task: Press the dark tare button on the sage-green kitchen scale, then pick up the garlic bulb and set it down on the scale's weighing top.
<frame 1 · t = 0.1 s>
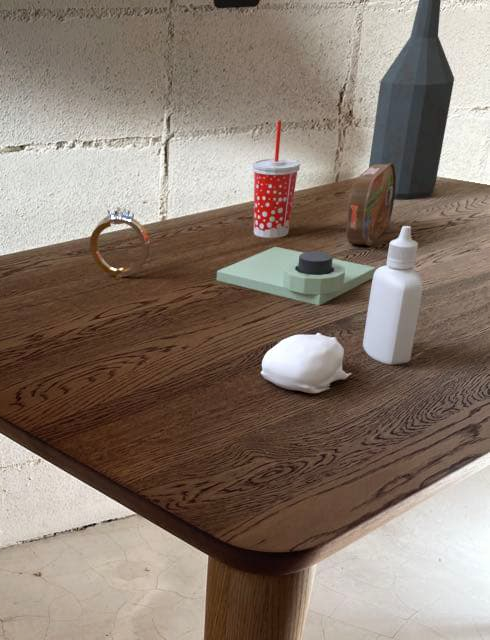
hand: (231, 2, 65), 30 cm above the table, tool pointing down, fingers open, 9 cm apart
eye dropper bottle: (385, 356, 84), on the table
tare button: (315, 264, 96), point 3 cm above the table, slide at 0.1 cm
scale: (295, 279, 103), on the table
tin: (366, 238, 115), on the table
garlic: (303, 380, 80), on the table
ring: (120, 279, 106), on the table
bottle: (399, 192, 134), on the table
beverage cup: (270, 234, 118), on the table
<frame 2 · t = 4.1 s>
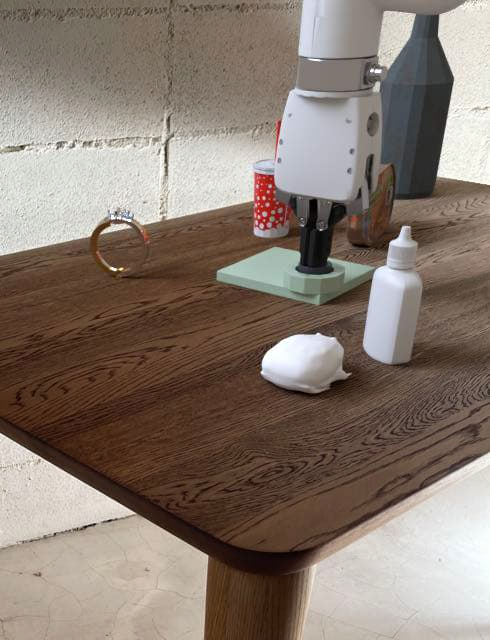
hand: (313, 262, 96), 4 cm above the table, tool pointing down, fingers closed
tare button: (314, 271, 96), point 3 cm above the table, slide at -0.6 cm, touching gripper
everything else where it was.
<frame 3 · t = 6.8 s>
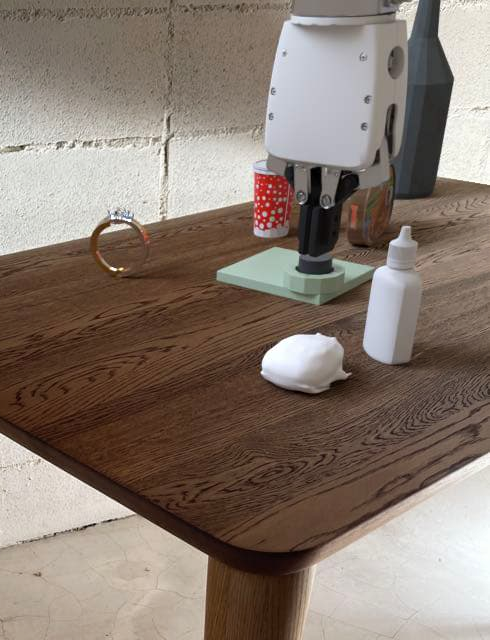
hand: (316, 251, 74), 11 cm above the table, tool pointing down, fingers closed
tare button: (315, 264, 96), point 3 cm above the table, slide at 0.1 cm
everything else where it was.
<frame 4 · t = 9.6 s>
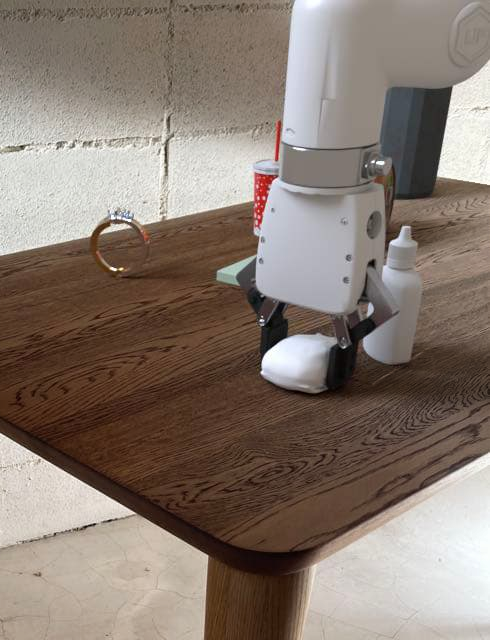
hand: (304, 372, 80), 1 cm above the table, tool pointing down, fingers closed on garlic, 6 cm apart
garlic: (303, 380, 80), on the table, touching gripper
everything else where it was.
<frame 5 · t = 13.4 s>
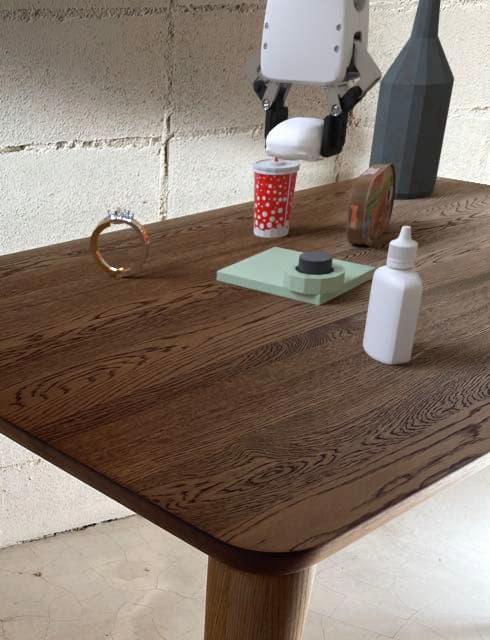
hand: (302, 150, 94), 14 cm above the table, tool pointing down, fingers closed on garlic, 6 cm apart
garlic: (301, 158, 94), point 14 cm above the table, touching gripper
everything else where it was.
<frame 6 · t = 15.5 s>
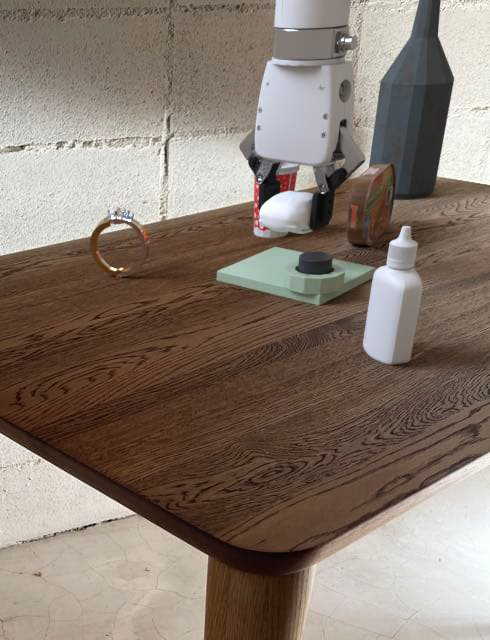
hand: (293, 221, 101), 6 cm above the table, tool pointing down, fingers closed on garlic, 6 cm apart
garlic: (292, 228, 102), point 5 cm above the table, touching gripper
everything else where it was.
when the fingers open (2 cm above the table, at t = 17.2 s): garlic stays where it is, resting on scale.
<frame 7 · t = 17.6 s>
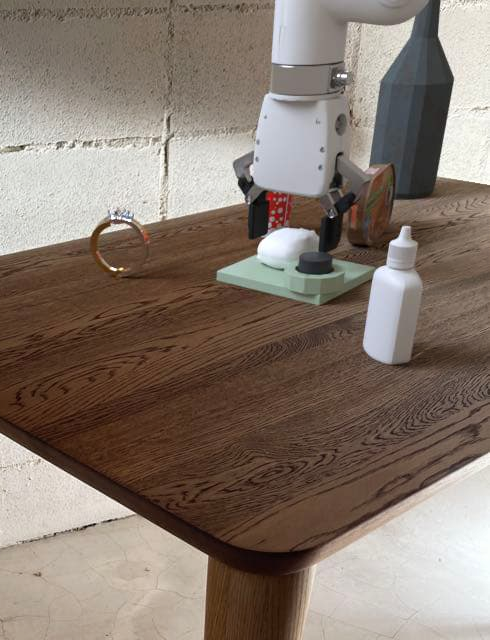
hand: (291, 243, 103), 3 cm above the table, tool pointing down, fingers open, 9 cm apart
garlic: (289, 264, 104), point 1 cm above the table, touching scale
everything else where it was.
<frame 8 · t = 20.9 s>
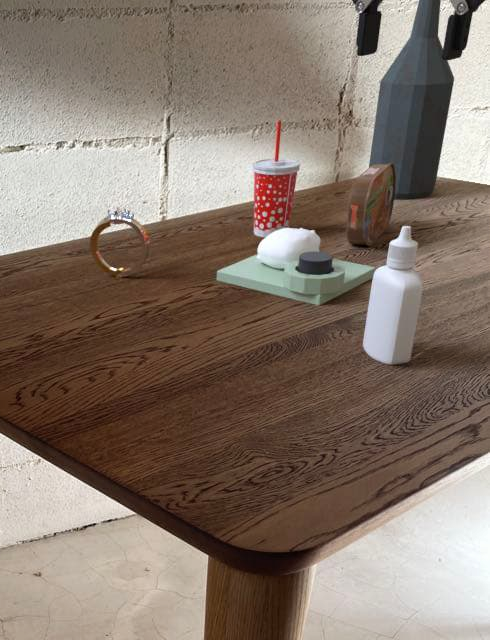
hand: (407, 56, 93), 22 cm above the table, tool pointing down, fingers open, 9 cm apart
nothing on the table moved.
at the end: tare button pushed in 1.2 cm at the most during the clip, back to where it started at the end; garlic inside the target area on the scale (2.5 cm from its centre), point 1.0 cm above the scale's base; garlic touching scale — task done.
